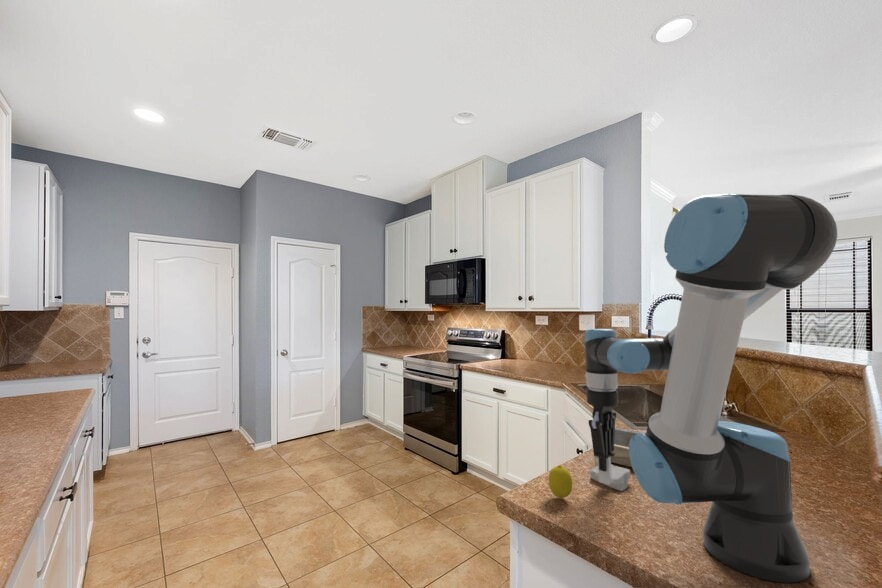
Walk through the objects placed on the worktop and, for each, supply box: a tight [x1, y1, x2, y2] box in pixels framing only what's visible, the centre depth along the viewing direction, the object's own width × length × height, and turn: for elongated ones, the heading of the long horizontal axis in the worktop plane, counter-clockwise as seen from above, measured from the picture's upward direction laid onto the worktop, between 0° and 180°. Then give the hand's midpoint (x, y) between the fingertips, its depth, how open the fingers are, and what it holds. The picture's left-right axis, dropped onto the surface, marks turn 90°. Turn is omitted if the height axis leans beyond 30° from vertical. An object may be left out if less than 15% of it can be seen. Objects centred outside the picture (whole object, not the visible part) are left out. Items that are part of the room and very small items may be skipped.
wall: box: [614, 427, 646, 447], centre depth 118 cm, size 2×16×8 cm, turn 47°
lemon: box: [548, 464, 573, 500], centre depth 93 cm, size 6×6×8 cm
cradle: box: [594, 444, 632, 468], centre depth 110 cm, size 8×14×5 cm, turn 47°
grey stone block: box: [589, 464, 631, 492], centre depth 103 cm, size 10×6×6 cm, turn 27°
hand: (605, 482), depth 98 cm, fingers closed
